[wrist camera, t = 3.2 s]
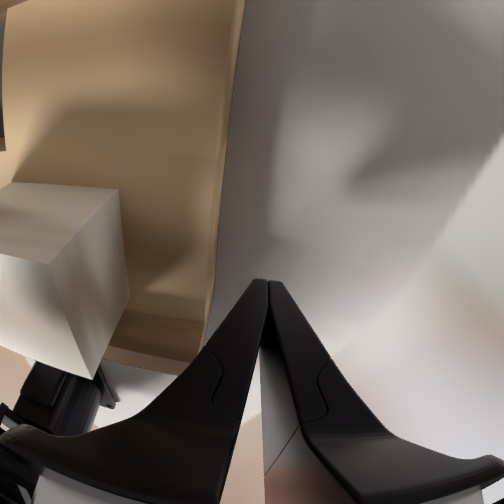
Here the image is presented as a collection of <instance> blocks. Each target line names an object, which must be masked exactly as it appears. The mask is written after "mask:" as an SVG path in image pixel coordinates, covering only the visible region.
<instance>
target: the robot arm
mask: <svg viewBox="0 0 504 504" xmlns="http://www.w3.org/2000/svg"><path fill="white" fill-rule="evenodd" d="M258 351H259V359H260V384H261V409H262V432H263V458H264V476H265V477H264V484H265V485H264V487H265V504H484V501H483V496H482V489H484V488H486V487H488V486H490V485H491V484H493V483H495V482H497V481H499V480H500V479H502V478H504V461H503V460H501V459H499V458H497V457H495V456H493V455H486V456H482V457H479V458H476V459H458V458H454V457H450V456H447V455H444V454H442V453H439V452H436V451H433V450H430V449H427V448H425V447H422V446H419V445H416V444H414V443H411V442H409V441H406V440H403V439H401V438H399V437H397V436H395V435H394V434H392V433H391V432H390V431H388V429H386V428H385V427H384V425H383V424H382V423H381V422H380V421H379V420H378V418H377V417H376V416H375V415H374V414H373V413H372V411H371V410H370V409H369V408H368V407H367V405H366V404H365V403H364V402H363V401H362V399H360V397H359V396H358V395H357V393H356V392H355V391H354V389H353V388H352V387H351V386H350V384H349V383H348V382H347V380H346V379H345V378H344V376H343V375H342V373H341V372H340V370H339V369H338V367H337V366H336V364H335V363H334V361H333V360H332V359H331V357H330V355H329V354H328V352H327V350H326V349H325V347H324V346H323V344H322V343H321V341H320V340H319V338H318V337H317V335H316V333H315V332H314V330H313V329H312V327H311V326H310V324H309V323H308V321H307V320H306V318H305V317H304V315H303V313H302V312H301V310H300V309H299V307H298V306H297V304H296V303H295V301H294V300H293V298H292V297H291V295H290V294H289V292H288V290H287V289H286V287H285V286H284V284H283V283H282V282H280V281H273V280H269V281H267V280H265V279H258V278H255V279H254V280H253V281H252V282H251V284H250V285H249V286H248V288H247V289H246V290H245V292H244V293H243V295H242V296H241V297H240V299H239V300H238V301H237V303H236V304H235V305H234V307H233V308H232V309H231V311H230V312H229V314H228V315H227V316H226V318H225V319H224V320H223V322H222V323H221V324H220V326H219V327H218V328H217V330H216V331H215V332H214V334H213V335H212V336H211V338H210V339H209V340H208V342H207V343H206V345H205V346H204V347H203V348H202V350H201V351H200V352H199V354H198V355H197V356H196V357H195V359H194V360H193V361H192V362H191V363H190V365H189V366H188V367H187V368H186V369H185V370H184V371H183V372H182V373H181V374H180V375H179V376H178V377H177V378H176V379H175V380H174V381H173V382H172V383H171V384H170V385H169V386H168V387H167V388H166V389H165V390H164V391H163V392H162V393H161V394H160V395H159V396H157V397H156V398H155V399H154V400H153V401H152V402H151V403H150V404H149V405H148V406H147V407H146V408H144V409H143V410H142V411H141V412H139V413H138V414H136V415H134V416H132V417H131V418H128V419H126V420H123V421H120V422H117V423H114V424H111V425H108V426H105V427H102V428H99V429H96V430H93V431H91V428H92V425H93V422H94V419H95V416H96V414H97V411H98V408H99V405H100V406H103V407H107V408H110V409H114V408H115V405H116V403H115V401H114V399H113V397H112V395H111V392H110V390H109V388H108V386H107V383H106V381H105V379H104V376H103V374H102V371H101V369H100V367H99V366H98V368H97V371H96V373H95V375H94V378H93V380H91V379H88V378H85V377H81V376H78V375H75V374H72V373H69V372H66V371H63V370H60V369H58V368H55V367H52V366H49V365H47V364H44V363H41V362H39V361H36V360H35V363H34V365H33V367H32V369H31V371H30V373H29V374H28V376H27V378H26V380H25V382H24V384H23V386H22V389H21V390H20V396H19V398H18V400H17V402H16V404H15V407H14V409H13V411H12V410H10V409H9V408H8V406H7V405H5V404H4V403H3V402H2V403H1V405H0V425H1V423H2V424H4V425H5V426H7V427H8V428H9V430H8V431H5V430H3V429H2V428H1V427H0V504H219V503H220V500H221V496H222V493H223V489H224V485H225V482H226V477H227V474H228V470H229V467H230V463H231V459H232V455H233V451H234V447H235V444H236V440H237V435H238V432H239V428H240V424H241V420H242V416H243V412H244V408H245V404H246V400H247V396H248V392H249V388H250V384H251V380H252V376H253V372H254V368H255V364H256V359H257V355H258ZM493 504H504V498H503V499H501V500H499V501H497V502H495V503H493Z"/></svg>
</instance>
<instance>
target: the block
mask: <svg viewBox="0 0 504 504" xmlns="http://www.w3.org/2000/svg"><path fill="white" fill-rule="evenodd" d="M130 298H131V295H130V289H129V282H128V275H127V268H126V260H125V252H124V243H123V234H122V224H121V212H120V198H119V189H108V188H96V187H84V186H70V185H56V184H40V183H21V182H10V183H9V184H7V185H6V186H4V187H3V188H2V189H0V345H1V346H3V347H5V348H7V349H9V350H12V351H14V352H16V353H19V354H21V355H24V356H26V357H29V358H31V359H34V360H36V361H39V362H41V363H44V364H47V365H49V366H52V367H55V368H58V369H60V370H63V371H66V372H69V373H72V374H75V375H78V376H81V377H85V378H88V379H91V380H93V378H94V375H95V373H96V371H97V368H98V366H99V364H100V361H101V359H102V357H103V355H104V352H105V350H106V348H107V346H108V344H109V341H110V339H111V337H112V335H113V333H114V331H115V328H116V326H117V324H118V322H119V320H120V318H121V316H122V314H123V312H124V310H125V308H126V306H127V304H128V302H129V300H130Z"/></svg>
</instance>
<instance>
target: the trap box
mask: <svg viewBox="0 0 504 504" xmlns="http://www.w3.org/2000/svg"><path fill="white" fill-rule="evenodd" d="M245 1H246V0H0V189H2V188H3V187H4V186H6V185H7V184H9V183H10V182H21V183H40V184H56V185H70V186H84V187H96V188H108V189H119V198H120V212H121V224H122V234H123V243H124V252H125V260H126V268H127V275H128V282H129V289H130V295H131V298H130V300H129V302H128V304H127V306H126V308H125V310H124V312H123V314H122V316H121V318H120V320H119V322H118V324H117V326H116V328H115V331H114V333H113V335H112V337H111V339H110V341H109V344H108V346H107V348H106V350H105V352H104V355H103V357H102V358H103V359H107V360H111V361H115V362H118V363H123V364H127V365H131V366H135V367H139V368H144V369H148V370H153V371H158V372H163V373H168V374H173V375H178V376H179V375H180V374H181V373H182V372H183V371H184V370H185V369H186V368H187V367H188V366H189V365H190V363H191V362H192V361H193V360H194V359H195V357H196V356H197V355H198V354H199V352H200V351H201V350H202V347H203V343H204V338H205V333H206V329H207V324H208V320H209V315H210V311H211V306H212V302H213V292H214V278H215V265H216V252H217V240H218V228H219V216H220V205H221V195H222V184H223V174H224V164H225V155H226V146H227V137H228V128H229V119H230V110H231V102H232V94H233V86H234V78H235V71H236V63H237V56H238V48H239V41H240V34H241V28H242V21H243V14H244V8H245Z"/></svg>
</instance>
